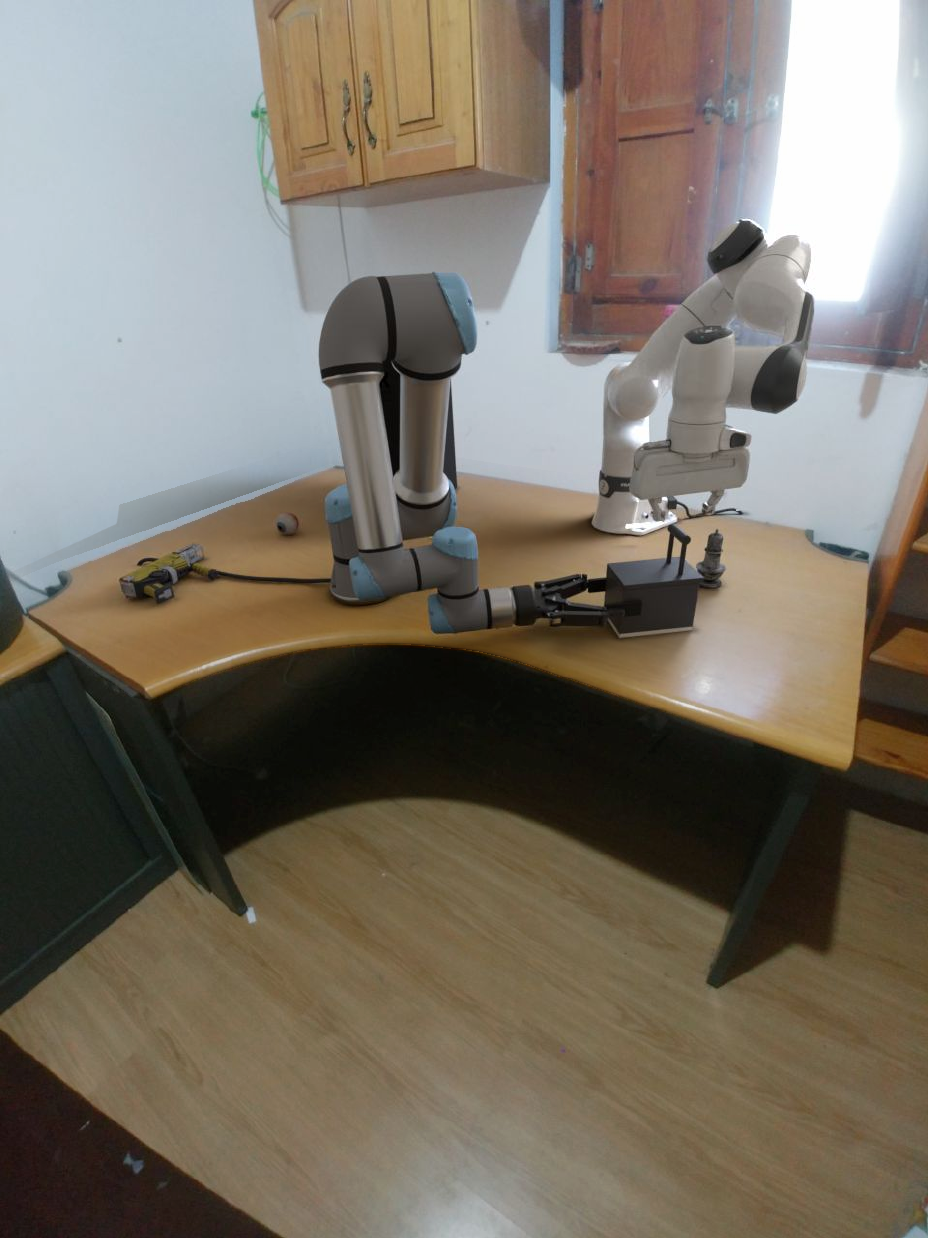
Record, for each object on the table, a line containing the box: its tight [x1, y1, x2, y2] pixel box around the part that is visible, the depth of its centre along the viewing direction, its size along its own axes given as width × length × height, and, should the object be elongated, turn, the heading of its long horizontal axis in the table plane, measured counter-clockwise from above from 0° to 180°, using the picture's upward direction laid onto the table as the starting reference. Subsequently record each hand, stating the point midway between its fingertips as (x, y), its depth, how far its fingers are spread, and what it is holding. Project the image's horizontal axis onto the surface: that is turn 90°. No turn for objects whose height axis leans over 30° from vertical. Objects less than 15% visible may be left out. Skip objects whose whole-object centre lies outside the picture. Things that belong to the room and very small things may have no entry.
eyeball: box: [275, 511, 300, 536], centre depth 163 cm, size 6×6×6 cm
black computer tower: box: [379, 361, 458, 490], centre depth 169 cm, size 38×20×45 cm, turn 167°
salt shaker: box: [695, 528, 727, 589], centre depth 125 cm, size 6×6×12 cm
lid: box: [606, 523, 704, 590], centre depth 109 cm, size 15×9×9 cm, turn 97°
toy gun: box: [118, 542, 219, 605], centre depth 141 cm, size 5×24×15 cm
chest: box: [603, 568, 700, 639], centre depth 113 cm, size 14×9×10 cm
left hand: (630, 594), depth 112 cm, fingers closed on chest, 9 cm apart
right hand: (683, 516), depth 106 cm, fingers open, 8 cm apart
